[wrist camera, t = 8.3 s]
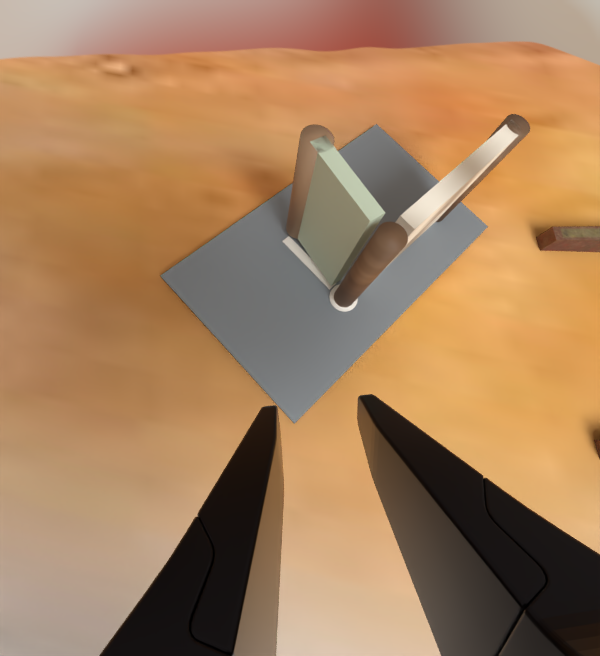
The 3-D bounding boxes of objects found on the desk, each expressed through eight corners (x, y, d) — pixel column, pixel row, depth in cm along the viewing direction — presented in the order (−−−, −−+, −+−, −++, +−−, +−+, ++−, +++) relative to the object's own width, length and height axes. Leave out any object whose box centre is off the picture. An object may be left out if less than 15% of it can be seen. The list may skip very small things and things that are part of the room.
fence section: (343, 311, 22) (394, 256, 14) (329, 296, 22) (370, 233, 14) (447, 215, 26) (534, 127, 18) (434, 203, 26) (514, 110, 18)
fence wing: (345, 277, 22) (391, 209, 15) (326, 288, 22) (363, 224, 14) (300, 214, 23) (321, 120, 15) (281, 224, 23) (293, 131, 15)
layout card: (293, 423, 20) (294, 423, 19) (161, 277, 21) (159, 275, 21) (485, 228, 26) (488, 226, 26) (375, 127, 28) (376, 123, 27)
